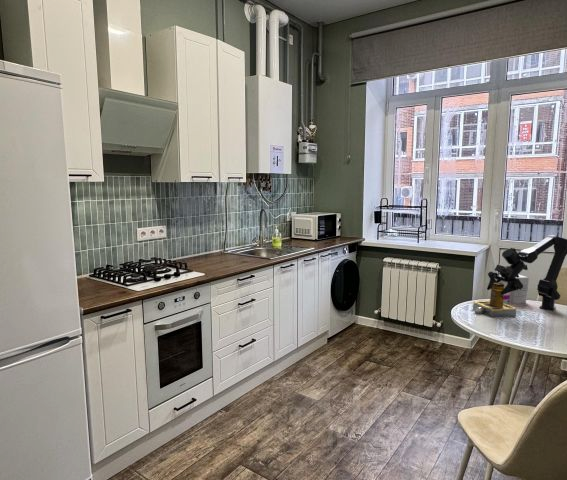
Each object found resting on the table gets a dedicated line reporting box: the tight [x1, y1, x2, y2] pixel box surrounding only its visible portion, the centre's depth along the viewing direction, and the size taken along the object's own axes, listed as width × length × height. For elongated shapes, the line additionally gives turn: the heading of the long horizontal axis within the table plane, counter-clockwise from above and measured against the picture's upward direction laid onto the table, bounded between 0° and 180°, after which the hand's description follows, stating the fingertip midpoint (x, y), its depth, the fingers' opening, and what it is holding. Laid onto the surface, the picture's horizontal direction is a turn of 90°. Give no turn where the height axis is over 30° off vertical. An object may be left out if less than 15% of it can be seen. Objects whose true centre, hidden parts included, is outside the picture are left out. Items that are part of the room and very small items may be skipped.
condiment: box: [483, 283, 506, 308], centre depth 206 cm, size 7×8×12 cm
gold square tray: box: [472, 300, 517, 318], centre depth 206 cm, size 18×14×4 cm
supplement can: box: [498, 274, 510, 305], centre depth 224 cm, size 8×8×15 cm
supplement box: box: [509, 273, 530, 304], centre depth 228 cm, size 9×9×15 cm
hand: (494, 291), depth 205 cm, fingers open, 9 cm apart
